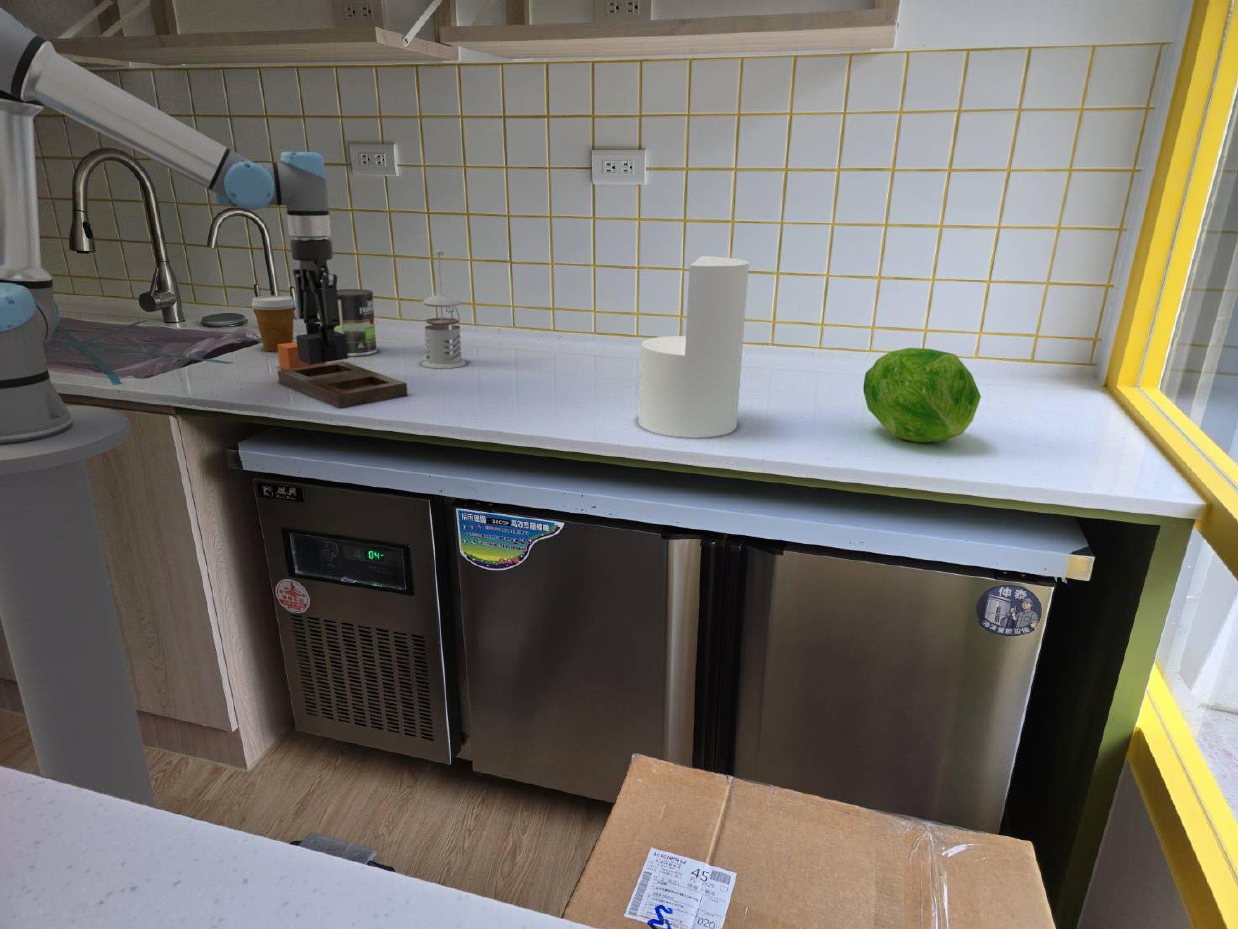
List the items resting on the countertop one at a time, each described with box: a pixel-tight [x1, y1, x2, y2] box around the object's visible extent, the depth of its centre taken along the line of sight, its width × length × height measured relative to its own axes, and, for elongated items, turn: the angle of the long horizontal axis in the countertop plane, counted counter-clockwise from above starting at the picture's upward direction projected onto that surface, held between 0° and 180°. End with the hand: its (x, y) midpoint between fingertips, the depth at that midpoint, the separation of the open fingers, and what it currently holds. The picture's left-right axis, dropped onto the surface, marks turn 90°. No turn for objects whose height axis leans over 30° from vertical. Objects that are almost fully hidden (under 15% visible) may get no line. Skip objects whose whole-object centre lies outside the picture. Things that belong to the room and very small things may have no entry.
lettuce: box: [862, 347, 982, 443], centre depth 137 cm, size 17×20×17 cm
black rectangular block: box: [295, 331, 349, 365], centre depth 163 cm, size 8×5×5 cm, turn 135°
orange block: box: [277, 341, 326, 370], centre depth 177 cm, size 8×5×5 cm, turn 135°
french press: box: [421, 248, 467, 369], centre depth 181 cm, size 10×12×25 cm
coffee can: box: [334, 288, 378, 357], centre depth 191 cm, size 10×10×14 cm
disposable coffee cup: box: [250, 295, 296, 353], centre depth 193 cm, size 10×10×12 cm
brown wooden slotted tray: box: [277, 360, 408, 409], centre depth 160 cm, size 14×25×2 cm, turn 45°
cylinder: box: [638, 255, 750, 439], centre depth 140 cm, size 17×17×28 cm
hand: (323, 358), depth 164 cm, fingers closed on black rectangular block, 5 cm apart
